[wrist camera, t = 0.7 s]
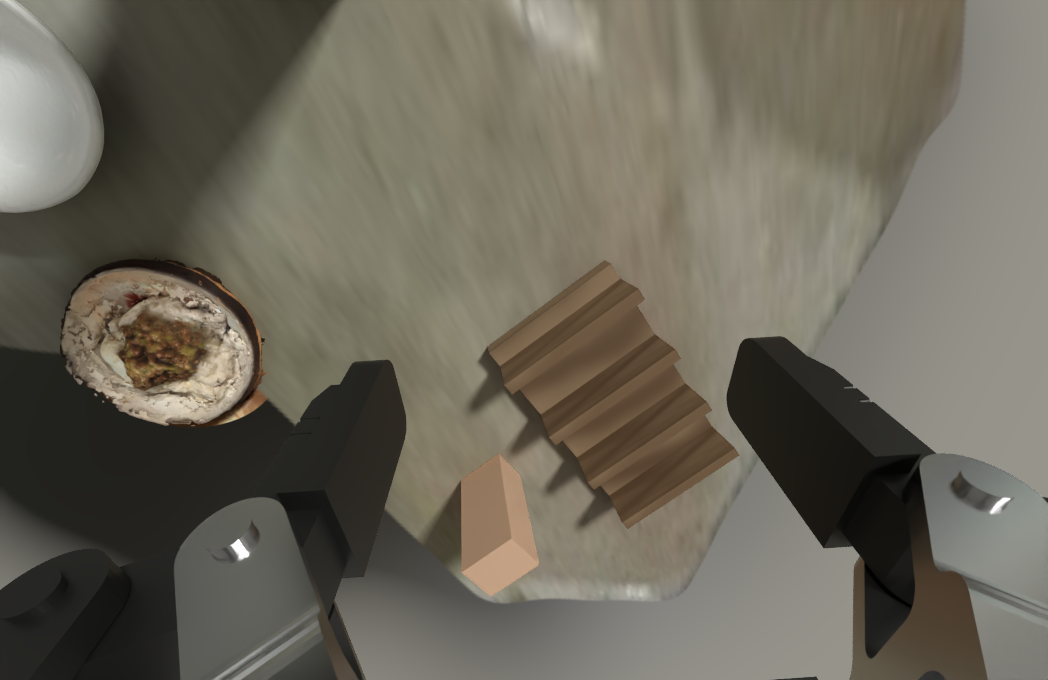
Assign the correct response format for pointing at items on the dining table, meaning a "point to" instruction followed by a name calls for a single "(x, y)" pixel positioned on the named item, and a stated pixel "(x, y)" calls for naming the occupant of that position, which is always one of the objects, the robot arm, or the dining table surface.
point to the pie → (163, 343)
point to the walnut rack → (612, 394)
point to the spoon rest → (43, 116)
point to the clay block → (495, 527)
